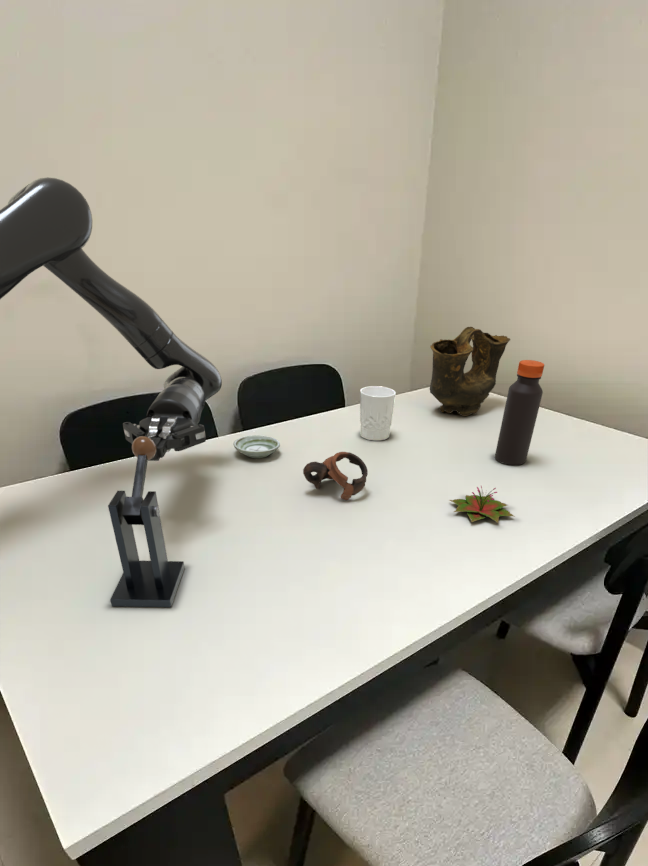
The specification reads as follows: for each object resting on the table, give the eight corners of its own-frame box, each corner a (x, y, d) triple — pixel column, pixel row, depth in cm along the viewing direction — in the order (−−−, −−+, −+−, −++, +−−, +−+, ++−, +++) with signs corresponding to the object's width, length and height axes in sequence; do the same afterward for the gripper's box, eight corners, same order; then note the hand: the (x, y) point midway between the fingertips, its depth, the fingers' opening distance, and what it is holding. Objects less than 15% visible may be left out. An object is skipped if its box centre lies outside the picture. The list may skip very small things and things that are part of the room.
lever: (137, 446, 82) (130, 430, 79) (160, 446, 82) (154, 431, 79) (124, 526, 77) (117, 513, 74) (149, 526, 77) (142, 513, 74)
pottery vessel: (474, 396, 163) (488, 318, 150) (505, 407, 156) (522, 326, 144) (412, 413, 149) (422, 328, 137) (444, 425, 143) (457, 337, 131)
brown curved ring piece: (347, 477, 117) (365, 449, 111) (357, 516, 113) (377, 489, 107) (292, 469, 111) (308, 439, 105) (300, 509, 107) (317, 481, 101)
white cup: (389, 429, 138) (393, 386, 132) (393, 442, 132) (397, 397, 126) (356, 429, 138) (359, 385, 132) (359, 441, 132) (361, 396, 126)
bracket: (130, 567, 87) (111, 480, 79) (184, 568, 88) (171, 482, 79) (111, 606, 79) (88, 515, 71) (171, 607, 80) (155, 517, 71)
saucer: (282, 446, 127) (282, 435, 126) (277, 464, 120) (277, 452, 118) (238, 444, 127) (237, 433, 126) (230, 461, 119) (229, 450, 118)
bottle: (517, 468, 124) (541, 369, 111) (489, 459, 127) (508, 362, 114) (530, 459, 128) (554, 363, 116) (502, 451, 131) (523, 356, 119)
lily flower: (437, 500, 110) (440, 477, 107) (492, 494, 113) (497, 471, 110) (467, 530, 101) (472, 506, 98) (526, 522, 104) (532, 499, 101)
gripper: (131, 389, 94) (98, 427, 80) (213, 392, 95) (195, 430, 81) (139, 434, 99) (110, 477, 85) (218, 437, 99) (201, 480, 86)
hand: (151, 454), depth 83 cm, fingers closed
